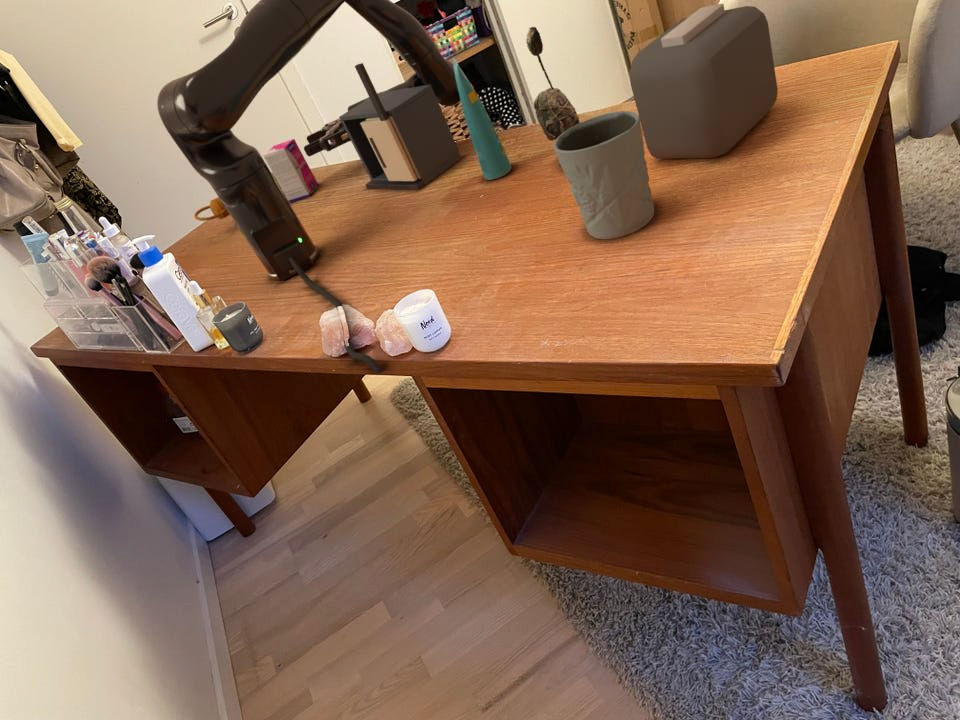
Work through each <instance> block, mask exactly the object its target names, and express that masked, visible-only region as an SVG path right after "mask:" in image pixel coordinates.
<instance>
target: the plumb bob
mask: <svg viewBox="0 0 960 720" xmlns="http://www.w3.org/2000/svg"><path fill="white" fill-rule="evenodd" d="M270 172H271V173H272V171H270ZM272 175H273V177H274V178H275V176H274V174H273V173H272ZM275 180H276V178H275ZM276 182H277V183H278V181H277V180H276ZM278 185H279V183H278ZM279 187H280V185H279ZM280 189H281V190H282V188H281V187H280ZM282 191H283V190H282ZM209 209H210V211H211V213H212V214H213V215H211V216H206V217H201V216H200V217H199V214H201V213H202V212H204V211H207V210H209ZM229 216H231V215H230V214H229V212H228V211H227V209H226V208H225V206H224V204H223V203H222V201H221V200H220V198H219V197H218V196H217V197H215V198H214V199H211V200H210V201H209V205H206V206H204V207H201V208H200V209H198V210H196V212H195V213H194V215H193V217H194V219H195V220H197V221H200V222H201V221H202V222H203V221H204V222H205V221H211V220H214V219H217V218H218V219H220V220H223V219H225V218H227V217H229Z"/></svg>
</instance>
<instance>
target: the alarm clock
mask: <svg viewBox="0 0 960 720" xmlns="http://www.w3.org/2000/svg"><path fill="white" fill-rule="evenodd" d="M774 61H775V60H774V55H773V49H772V42H771V34H770V27H769V22H768V19H767V17H766V15H765V13H764V12H763V11H761V10H760V9H759V8H758V7H756V6H753V5H752V6H749V5H745V6H739V7H734V8H729V9H725V4H724V3H717V4H711V5H707V6H703V7H700V8H698V9H697V10H696V11H695V12H693V13H692V14H691V15H689V16H688V17H684V18H681V19H679V21H677V22H676V23H675V24H673V25H672V26H671V27H669V28H668V29H666V30H665V31H664V32H663V33H662V34H660V35H659V36H657V38H655V39H654V40H653V41H651V42H650V43H648V44H647V45H646V46H645V47H643V48H642V49H641V50H640V51H638V52H637V53H636V54H635V56H634V57H633V59H632V61H631V64H630V69H629V81H630V87H631V92H632V96H633V100H634V101H635V102H634V103H635V107H636V110H637V115H638V116H639V118H640V124H641V131H642V134H643V136H644V141H645V144H646V148H647V150H648V152H649V154H650V155H651V157H653V158H654V159H657V160H662V159H663V160H664V159H665V160H666V159H667V160H669V159H709V158H711V159H712V158H716V157H719V156H722V155H725V154H726V153H728V152H730V151H731V150H732V149H733V148H734V147H735V145H737V144H738V143H739V142H740V141H741V140H742V139H743V138H744V137H745V136H747V134H748V133H749V132H750V131H751V130H752V129H753V128H754V127H755V126H756V125H757V124H759V122H760V121H761V120H762V119H763V118H764V117H765V116H767V114H768V113H769V112H770V111H771V109H772V108H773V107H774V106H775V104H776V102H777V99H778V91H779V90H778V89H779V88H778V83H777V82H778V81H777V77H776V76H777V75H776V69H775V62H774Z"/></svg>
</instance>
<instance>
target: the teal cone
mask: <svg viewBox="0 0 960 720" xmlns="http://www.w3.org/2000/svg"><path fill="white" fill-rule="evenodd" d="M452 63H453V66H454V73H455V78H456V83H457V87H458V91H459V96H460V100H461V101H460V103H461V108H462V112H463V116H464V119H465V122H466V123H465V124H466V126H467V129H468V133H469V136H470V139H471V142H472V146H473V148H474V152H475V155H476V158H477V160H478V163H479V166H480V169H481V171H482V175H483V177H484V180H486V181H492V180H496V179H499V178H501V177H504V176H505V175H507V174H508V173H510V171H511V170H512V164H511V163H510V160H509V158H508V156H507V153H506V150H505V148H504V146H503V144H502V142H501V139H500V137H499V135H498V133H497V131H496V128H495V126H494V125H493V124H494V123H493V122H492V120H491V118H490V116H489V113H488V112H487V110H486V108H485V106H484V105H483V102H482V100H481V99H480V97H479V95H478V93H477V92H476V90H475V89H474V87H473V85H472V84H471V82H470V81H469V79H468V78H467V76H466V75H465V72H464V71H463V69H462V68H461V67H460V65H459V64H458V62H457V60H456V58H455V57H454V56H452Z"/></svg>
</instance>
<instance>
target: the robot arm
mask: <svg viewBox="0 0 960 720" xmlns="http://www.w3.org/2000/svg"><path fill="white" fill-rule="evenodd" d="M344 3H346V4H347V5H348V6H349V7H350V8H351V9H353V11H355V12H356V13H357V14H358V15H359V16H360V17H361V18H362V19H364V21H366V22H367V23H368V24H370V26H372V27H373V28H374V29H375V30H376V31H377V32H378V33H379V34H380V35H381V36H382V37H383V38H384V39H385V40H386V41H387V42H388V43H389V44H390V45H391V47H392V48H393V49H394V51H395V52H397V54H398V55H399V56H400V57H401V59H402V60H403V61H404V63H406V65H407V66H408V67H409V68H410V69H412V71H413V72H414V73H413V74H412V75H411V76H410V77H409V78H407V79H406V80H405V81H404V82H401V83H399V84H397V85H395V86H393V87H390V88H388V89H387V90H383V91H380V92H379V93H382V92H388V91H394V90H400V89H406V88H412V87H419V86H425V85H431V87H432V89H433V91H434V94H435V96H436V98H437V101H438V103H439V105H440V106H444V107H453V106H456V105H458V104H459V103H461V100H460V96H459V91H458V87H457V83H456V78H455V73H454V66H453V61H451V60H449V59H445V57H444V56H443V54H442V53H441V51H440V49H439V47H438V45H437V43H436V42H435V41H434V39H433V38H432V36H431V35H430V34H429V33H428V31H427V30H426V29H425V27H424V26H423V24H421V22H420V21H419V20H418V19H417V18H416V17H414V16H413V15H412V14H411V13H410V12H409V11H407V10H405V9H404V8H403V7H401V6H399V5H398V4H396V3H395V2H393V1H391V0H259V1H258V2H257V3H256V4H255V5H254V6H253V7H252V8H250V10H249V11H248V12H247V14H246V15H245V17H244V18H243V19H242V21H241V23H240V25H239V27H238V30H237V32H236V34H235V35H234V38H233V40H232V42H230V44H229V46H227V47H226V48H225V49H224V50H223V51H221V53H220V54H218V55H217V56H216V57H214V58H213V59H212V60H211V61H209V62H208V63H206V64H205V65H204V66H202V67H200V68H199V69H197V70H195V71H193V72H191V73H188V74H186V75H183V76H179V77H178V78H176V79H173V80H171V81H169V82H167V83H166V84H165V85H163V87H162V88H161V89H160V91H159V93H158V97H157V101H156V102H157V104H156V106H157V111H158V115H159V118H160V120H161V122H162V125H163V126H164V128H165V130H166V131H167V133H168V135H169V136H170V137H171V139H172V140H173V141H174V143H175V144H176V145H177V147H178V149H179V150H180V151H181V153H182V154H183V155H184V157H185V159H186V160H187V161H188V163H189V164H190V165H191V166H192V168H193V169H194V170H195V172H196V173H197V174H198V175H200V177H202V178H203V179H205V181H207V182H208V184H209V186H211V188H212V189H213V191H214V192H215V194H216V195H217V198H218V197H219V198H220V200H221V201H222V203H223V204H224V206H225V208H226V209H227V211H228V212H229V214H230V215H229V216H230V217H231V218H232V220H233V221H234V223H235V224H236V226H237V228H238V229H239V231H240V232H241V234H242V235H243V237H244V238H245V240H246V241H247V243H248V244H249V246H250V247H251V249H252V251H253V252H254V254H255V255H256V257H257V258H258V260H259V261H260V263H261V265H262V266H263V267H264V269H265V270H266V272H267V274H268V276H269V278H270V279H271V280H274V281H280V282H283V281H285V280H287V279H289V278H291V277H293V276H295V275H296V274H298V275H299V276H300V278H301V279H302V280H303V281H304V282H305V283H306V284H307V285H308V286H309V288H311V289H312V290H313V291H315V292H317V293H318V294H320V295H321V296H322V297H324V298H325V299H327V300H328V301H329V302H331V303H332V304H333V305H334V306H335V308H336V309H337V307H338V306H343V304H342V303H341V302H340V300H339V299H338V298H337V297H336V296H334V295H333V294H331V293H330V292H328V291H327V290H326V289H325V288H323V287H322V286H319V285H318V284H316V283H315V282H314V281H313V280H312V279H311V278H310V277H309V276H308V275H307V274H306V272H305V271H304V270H306V269H308V268H309V267H311V266H313V265H314V261H315V260H316V259H317V258H318V256H319V254H320V251H319V249H318V247H317V246H316V245H315V243H314V242H313V241H312V239H311V237H310V236H309V234H308V232H307V231H306V229H305V227H304V226H303V224H302V222H301V220H300V219H299V217H298V215H297V213H296V212H295V210H294V209H293V206H291V203H289V201H288V199H287V197H286V196H285V194H284V192H283V190H281V189H280V187H279V185H278V183H277V182H276V180H275V178H274V177H273V175H272V173H271V172H272V171H271V169H270V167H269V165H268V164H267V162H266V160H265V159H264V157H263V155H261V153H260V152H259V150H258V149H257V148H256V147H255V146H253V145H250V144H249V143H246V142H245V141H243V140H241V139H240V138H238V137H237V136H236V135H235V133H233V131H232V129H233V128H234V127H235V125H237V123H238V122H239V120H240V119H241V118H242V116H243V115H244V114H245V112H246V111H247V109H248V107H249V106H250V105H251V104H252V103H253V101H254V99H255V98H256V97H257V95H258V94H259V92H260V91H261V90H262V89H263V88H264V86H266V85H267V84H268V82H269V81H271V80H272V79H273V78H274V77H275V76H277V75H278V74H279V73H280V72H281V71H282V70H283V69H285V67H286V66H287V65H288V64H289V63H291V61H293V60H294V58H296V57H297V56H298V54H300V52H301V51H303V50H304V48H305V47H306V46H307V45H308V44H310V42H311V40H312V39H314V37H315V36H316V35H317V33H318V32H320V30H321V29H322V28H323V27H324V26H325V25H326V24H327V23H328V21H329V20H330V19H331V18H332V17H333V16H334V15H335V13H336V12H337V11H338V10H339V8H341V6H342V5H343V4H344ZM368 98H370V97H369V96H368V97H366V98H364V99H362V100H360V101H358V102H355V103H353V104H351V105H348V107H347V112H348V111H349V110H351V109H353V108H354V107H356V106H357V105H359V104H360V103H362V102H364V101H365V100H367V99H368ZM306 140H307V142H308V143H307V144H306V145H304V147H303V150H304V152H305V154H306V156H307V157H312V156H315V155H316V154H319V153H321V152H323V151H326V152H331V151H332V150H335V149H336V148H338V147H341V146H342V145H345V144H346V143H347V144H348V143H349V142H351V140H350V138H349V136H348V134H347V132H346V130H345V128H344V126H343V124H342V122H341V120H340V118H339V117H338V118H337V119H334V120H332V121H331V122H327V123H325V125H323V126H322V128H321V129H319V130H317V131H315V132H313V133H311V134H308V135H307V136H306ZM351 338H352V337H350V338H349V339H348V343H349V346H347V347H346V345H345V341H344V340H343V344H344V348H345V351H346V353H347V355H348V356H349V357H350V358H351V359H352V360H355V361H359V362H363V363H365V364H366V365H368V366H369V367H370V368H371V369H372V371H374V372H375V373H374V374H377V375H378V374H379V375H380V374H381V373H383V368H382V367H381V366H380V364H379V363H378V362H377V361H376V360H375V358H374V359H373V358H372V357H371V356H370V355H367V354H365V353H359V352H356V350H355V349H354V347H353V345H352V339H351Z"/></svg>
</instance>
